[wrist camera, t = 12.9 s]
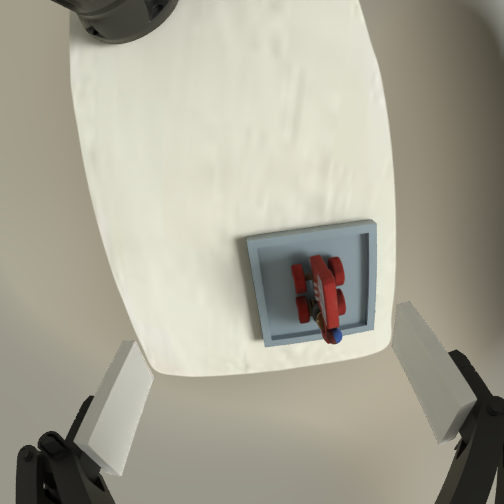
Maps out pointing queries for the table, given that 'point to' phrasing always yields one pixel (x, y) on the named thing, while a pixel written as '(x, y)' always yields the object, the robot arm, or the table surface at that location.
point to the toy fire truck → (321, 295)
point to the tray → (282, 286)
